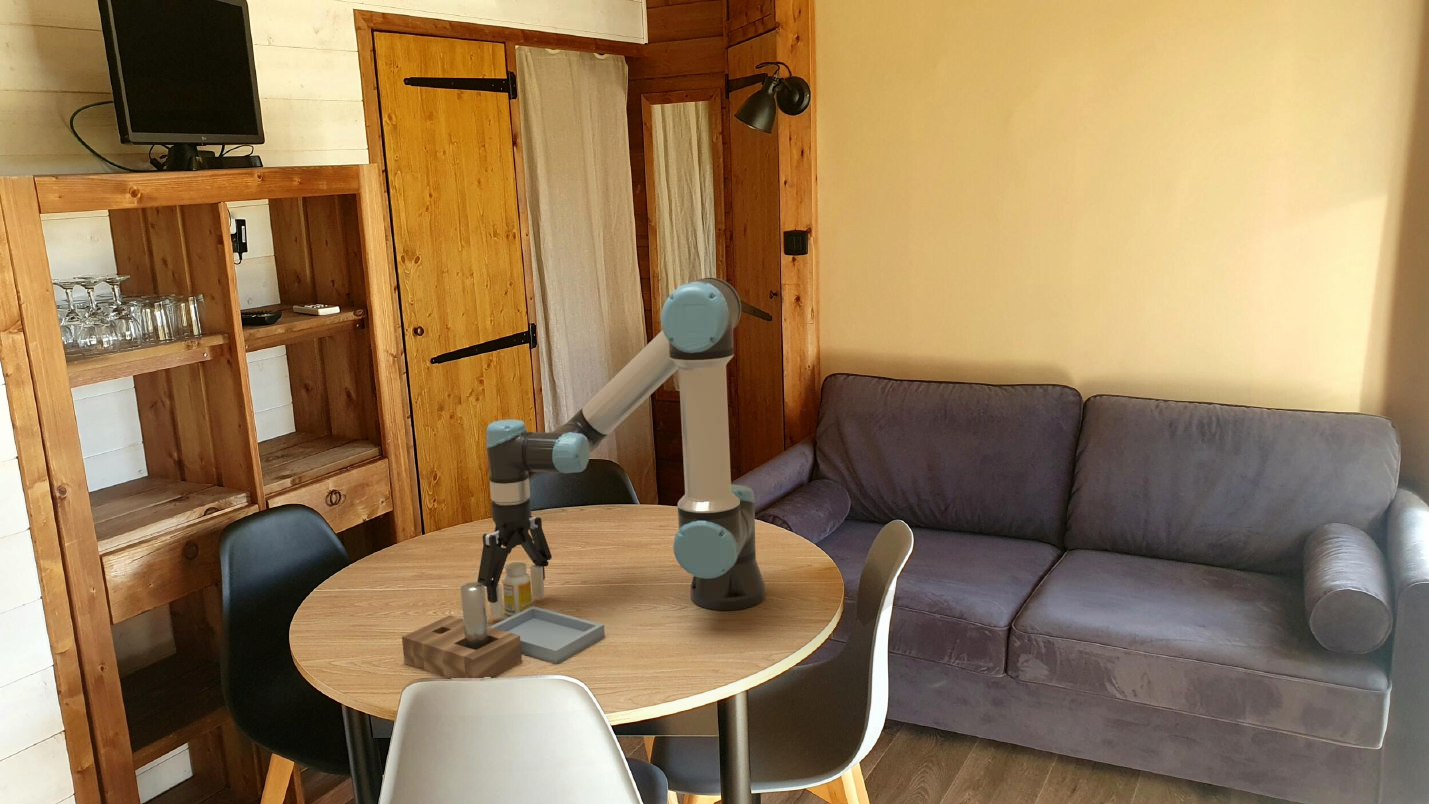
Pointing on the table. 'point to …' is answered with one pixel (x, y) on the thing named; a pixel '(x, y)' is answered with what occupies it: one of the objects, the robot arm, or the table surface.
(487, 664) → the wooden peg board
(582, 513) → the table surface
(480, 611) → the cylinder
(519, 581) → the supplement bottle
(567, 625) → the tray
